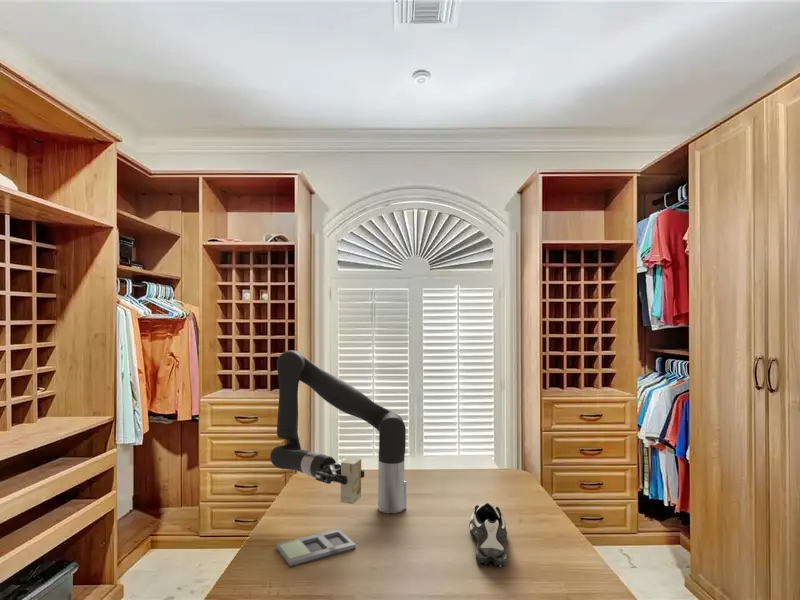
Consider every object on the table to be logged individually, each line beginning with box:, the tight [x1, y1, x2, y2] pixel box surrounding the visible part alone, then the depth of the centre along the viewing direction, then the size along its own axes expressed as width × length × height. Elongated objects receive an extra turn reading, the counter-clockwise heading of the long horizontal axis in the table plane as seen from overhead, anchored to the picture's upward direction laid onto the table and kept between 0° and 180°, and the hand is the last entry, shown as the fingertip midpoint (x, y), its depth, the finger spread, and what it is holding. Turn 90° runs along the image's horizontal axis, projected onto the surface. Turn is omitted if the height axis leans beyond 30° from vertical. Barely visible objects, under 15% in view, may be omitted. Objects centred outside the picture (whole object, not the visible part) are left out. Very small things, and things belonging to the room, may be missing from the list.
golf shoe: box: [468, 502, 508, 567], centre depth 152 cm, size 12×30×14 cm, turn 179°
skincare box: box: [340, 456, 362, 505], centre depth 154 cm, size 6×4×12 cm
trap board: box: [275, 528, 357, 568], centre depth 148 cm, size 20×12×2 cm, turn 122°
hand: (355, 477), depth 153 cm, fingers closed on skincare box, 7 cm apart
